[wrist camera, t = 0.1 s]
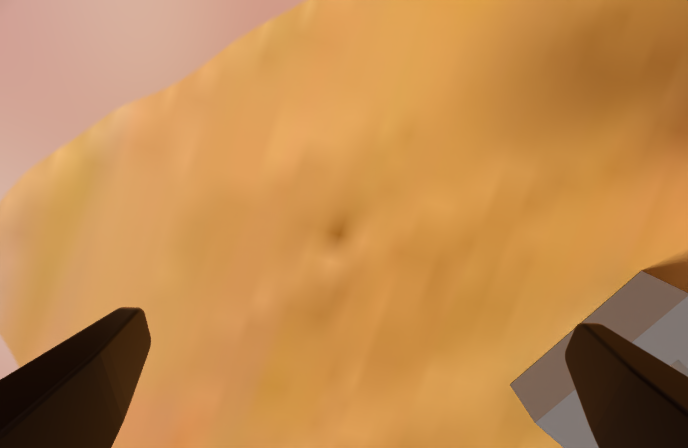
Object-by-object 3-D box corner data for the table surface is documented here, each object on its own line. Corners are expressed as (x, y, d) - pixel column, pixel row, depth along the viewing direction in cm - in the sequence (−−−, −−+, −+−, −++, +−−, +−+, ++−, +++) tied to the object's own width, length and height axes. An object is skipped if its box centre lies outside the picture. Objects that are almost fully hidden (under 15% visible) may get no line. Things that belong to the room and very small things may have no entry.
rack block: (611, 473, 28) (648, 520, 25) (509, 384, 26) (535, 422, 23) (740, 374, 26) (799, 410, 23) (641, 270, 25) (689, 294, 21)
